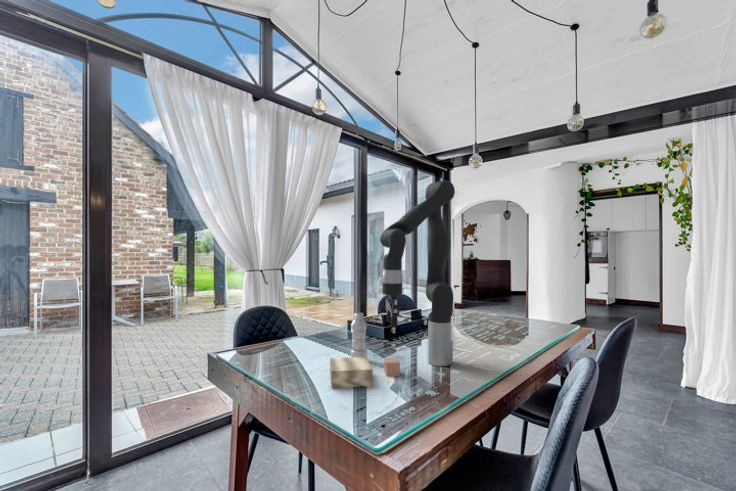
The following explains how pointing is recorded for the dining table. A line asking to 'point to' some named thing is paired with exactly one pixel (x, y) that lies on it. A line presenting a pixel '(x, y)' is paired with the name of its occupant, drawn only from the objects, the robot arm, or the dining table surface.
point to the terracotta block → (392, 367)
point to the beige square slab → (350, 372)
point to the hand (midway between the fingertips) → (391, 324)
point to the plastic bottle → (358, 336)
